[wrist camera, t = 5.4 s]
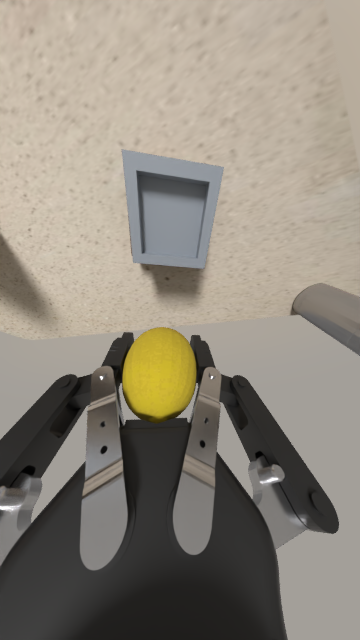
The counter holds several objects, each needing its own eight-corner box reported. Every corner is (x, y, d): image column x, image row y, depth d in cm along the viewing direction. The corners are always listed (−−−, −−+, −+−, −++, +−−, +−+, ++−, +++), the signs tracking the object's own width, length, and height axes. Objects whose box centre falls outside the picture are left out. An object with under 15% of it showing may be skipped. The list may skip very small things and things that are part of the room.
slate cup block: (208, 183, 19) (223, 167, 14) (196, 259, 25) (204, 268, 19) (135, 172, 18) (121, 149, 12) (141, 254, 23) (133, 262, 18)
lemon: (163, 357, 16) (159, 447, 10) (124, 332, 13) (82, 433, 7) (200, 333, 14) (226, 424, 8) (163, 299, 12) (154, 393, 5)
